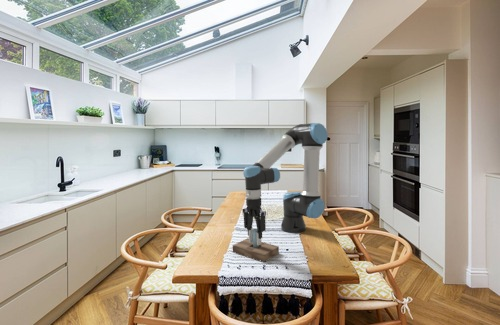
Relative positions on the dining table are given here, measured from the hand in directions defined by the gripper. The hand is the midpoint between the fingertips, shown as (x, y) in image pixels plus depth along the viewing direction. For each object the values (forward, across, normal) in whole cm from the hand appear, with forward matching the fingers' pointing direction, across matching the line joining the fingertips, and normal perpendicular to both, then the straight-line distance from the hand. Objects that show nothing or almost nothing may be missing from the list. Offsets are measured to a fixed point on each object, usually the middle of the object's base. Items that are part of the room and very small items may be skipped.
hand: (255, 243), depth 139 cm
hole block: (+5, 0, 0) cm, 5 cm away
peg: (+5, 0, 0) cm, 5 cm away
